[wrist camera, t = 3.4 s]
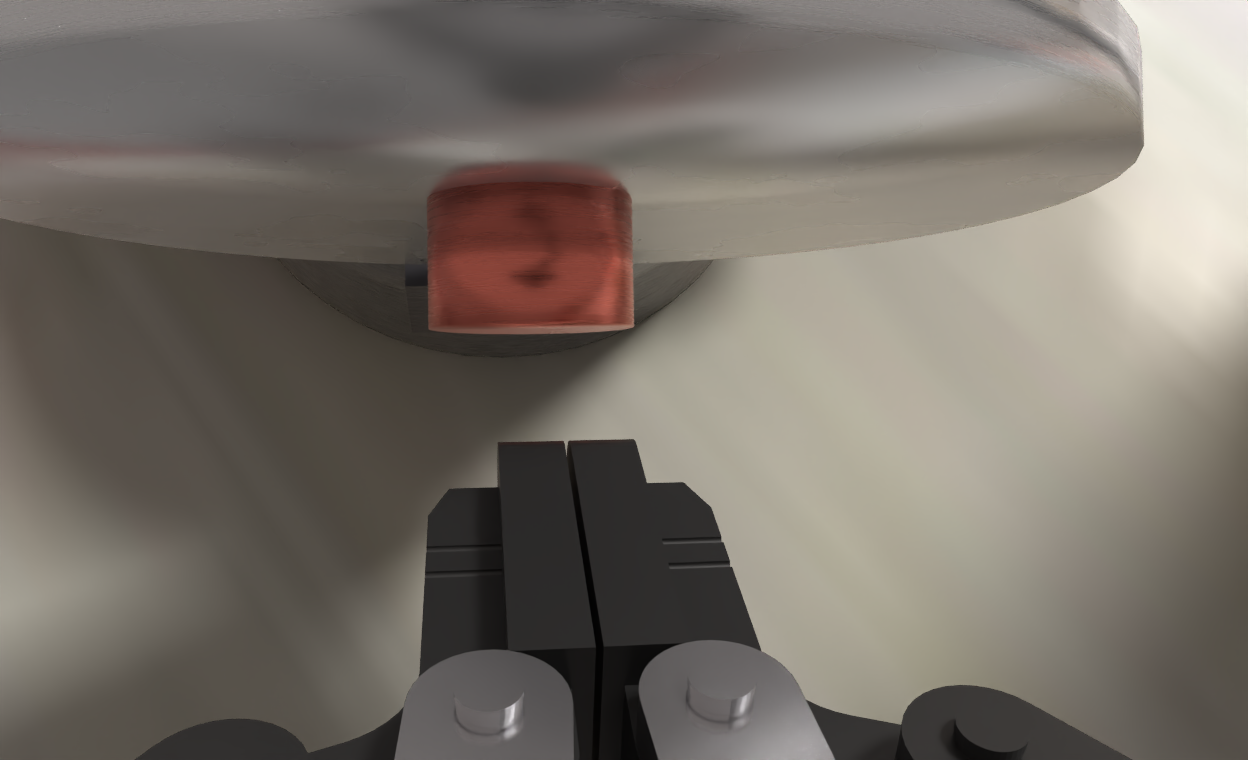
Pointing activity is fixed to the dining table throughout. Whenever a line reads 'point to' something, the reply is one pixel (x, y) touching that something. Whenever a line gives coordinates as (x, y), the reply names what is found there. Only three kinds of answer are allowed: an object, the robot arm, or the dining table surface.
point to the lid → (555, 131)
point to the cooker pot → (401, 312)
